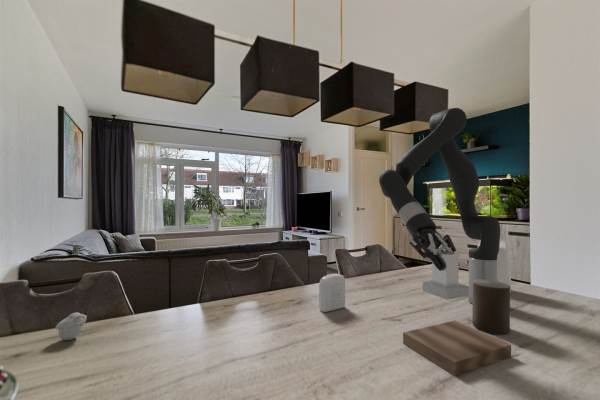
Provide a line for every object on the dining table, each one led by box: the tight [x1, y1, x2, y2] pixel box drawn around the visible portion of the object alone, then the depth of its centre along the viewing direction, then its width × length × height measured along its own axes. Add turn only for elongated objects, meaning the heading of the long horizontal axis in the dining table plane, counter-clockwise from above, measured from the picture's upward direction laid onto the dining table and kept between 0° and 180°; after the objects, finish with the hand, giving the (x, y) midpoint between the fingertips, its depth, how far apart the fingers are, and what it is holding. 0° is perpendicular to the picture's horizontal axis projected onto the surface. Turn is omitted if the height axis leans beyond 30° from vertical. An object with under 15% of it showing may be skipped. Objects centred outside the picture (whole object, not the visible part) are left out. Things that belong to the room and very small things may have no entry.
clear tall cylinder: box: [477, 230, 512, 293], centre depth 127 cm, size 12×12×26 cm
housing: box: [422, 250, 469, 301], centre depth 80 cm, size 8×8×11 cm
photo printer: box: [318, 273, 346, 313], centre depth 105 cm, size 10×4×12 cm, turn 123°
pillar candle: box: [471, 279, 511, 336], centre depth 90 cm, size 10×10×15 cm
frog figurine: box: [55, 312, 88, 341], centre depth 82 cm, size 6×7×7 cm
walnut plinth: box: [402, 320, 512, 376], centre depth 77 cm, size 20×16×3 cm
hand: (449, 267), depth 78 cm, fingers closed on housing, 4 cm apart
